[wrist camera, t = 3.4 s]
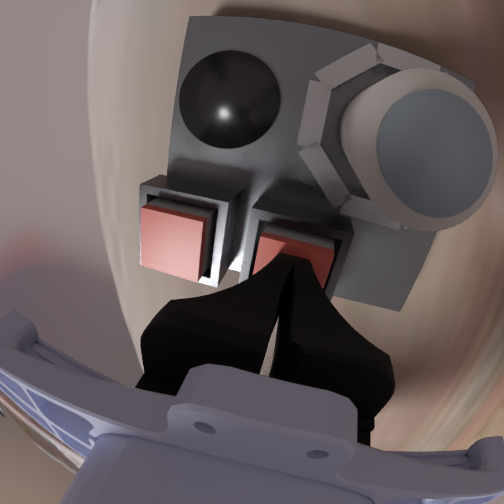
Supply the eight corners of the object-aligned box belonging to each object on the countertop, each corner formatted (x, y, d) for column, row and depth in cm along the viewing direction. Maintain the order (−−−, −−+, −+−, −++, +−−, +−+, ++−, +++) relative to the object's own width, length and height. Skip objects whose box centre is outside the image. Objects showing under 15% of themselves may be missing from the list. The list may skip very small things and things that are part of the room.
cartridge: (416, 193, 12) (477, 257, 6) (329, 166, 13) (335, 213, 7) (439, 106, 10) (521, 110, 4) (348, 74, 11) (374, 38, 5)
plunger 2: (316, 284, 15) (313, 313, 13) (259, 269, 15) (248, 296, 13) (333, 231, 14) (334, 255, 11) (270, 215, 14) (260, 236, 12)
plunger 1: (215, 257, 16) (197, 282, 13) (164, 243, 16) (141, 265, 14) (222, 203, 14) (203, 222, 12) (166, 192, 15) (140, 207, 12)
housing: (394, 292, 17) (406, 334, 13) (172, 235, 19) (139, 265, 15) (459, 85, 11) (496, 81, 7) (197, 25, 12) (162, 6, 9)
